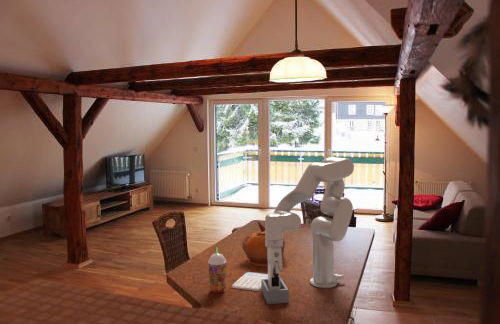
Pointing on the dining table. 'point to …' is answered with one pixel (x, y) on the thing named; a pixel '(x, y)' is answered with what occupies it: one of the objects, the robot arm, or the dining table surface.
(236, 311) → the dining table surface
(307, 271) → the dining table surface
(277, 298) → the grey open box
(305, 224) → the dining table surface
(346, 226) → the robot arm
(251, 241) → the pumpkin
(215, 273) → the smoothie
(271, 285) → the post
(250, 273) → the calculator
